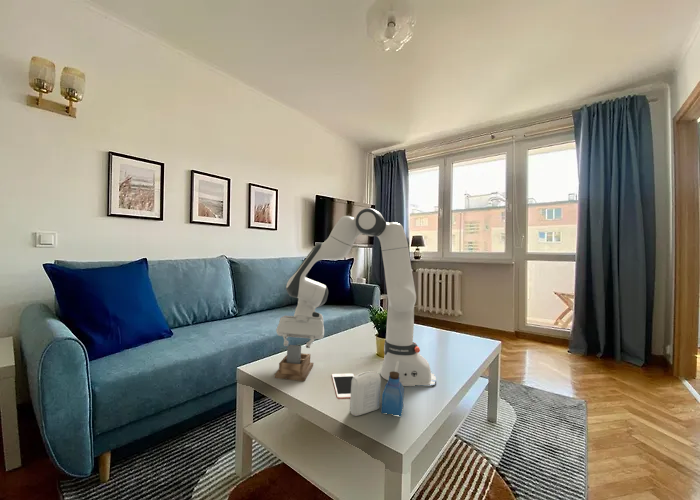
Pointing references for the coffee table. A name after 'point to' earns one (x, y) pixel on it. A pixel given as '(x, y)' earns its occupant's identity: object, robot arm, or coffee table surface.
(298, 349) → the charcoal card
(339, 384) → the cell phone
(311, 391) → the coffee table surface
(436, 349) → the coffee table surface
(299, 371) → the box
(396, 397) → the perfume bottle
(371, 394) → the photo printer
